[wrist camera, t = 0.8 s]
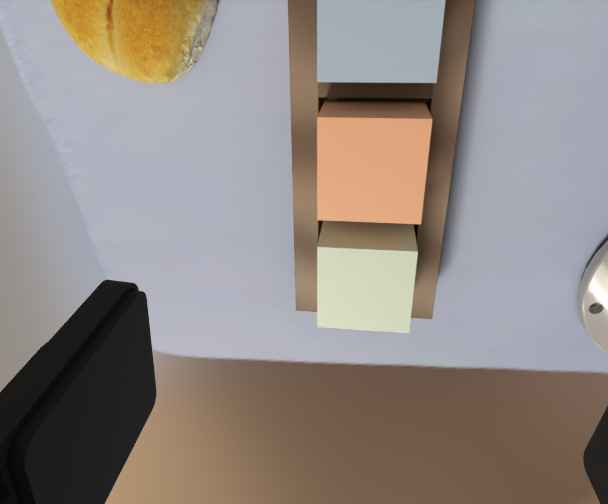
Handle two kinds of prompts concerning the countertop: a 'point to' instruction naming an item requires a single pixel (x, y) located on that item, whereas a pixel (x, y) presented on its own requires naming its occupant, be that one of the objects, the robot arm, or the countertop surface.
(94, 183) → the countertop surface
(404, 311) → the sage button
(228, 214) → the countertop surface
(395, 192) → the orange block
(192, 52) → the bread roll
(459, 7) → the wooden tray
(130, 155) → the countertop surface
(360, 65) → the slate button
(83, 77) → the countertop surface
